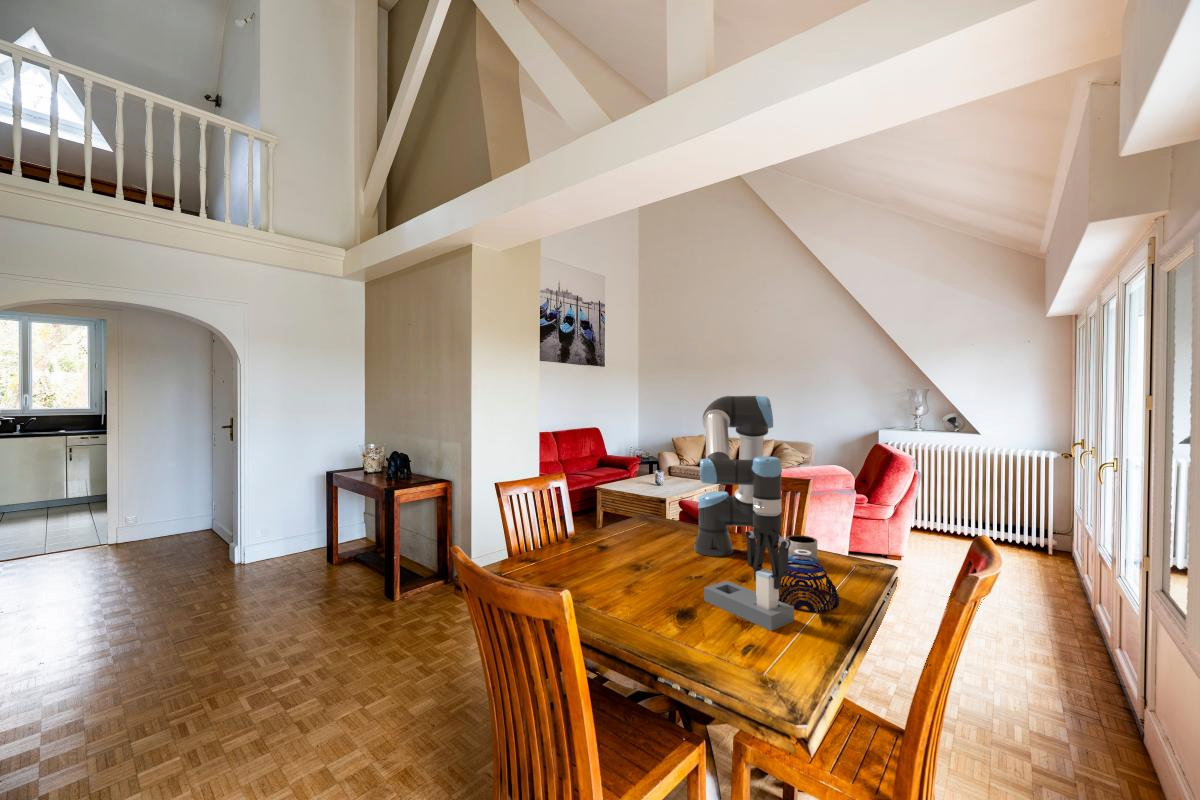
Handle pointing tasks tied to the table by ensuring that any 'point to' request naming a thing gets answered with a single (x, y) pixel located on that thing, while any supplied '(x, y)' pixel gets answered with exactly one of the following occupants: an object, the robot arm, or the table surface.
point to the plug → (765, 590)
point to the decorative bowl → (814, 578)
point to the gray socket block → (747, 605)
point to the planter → (802, 548)
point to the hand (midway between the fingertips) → (767, 596)
